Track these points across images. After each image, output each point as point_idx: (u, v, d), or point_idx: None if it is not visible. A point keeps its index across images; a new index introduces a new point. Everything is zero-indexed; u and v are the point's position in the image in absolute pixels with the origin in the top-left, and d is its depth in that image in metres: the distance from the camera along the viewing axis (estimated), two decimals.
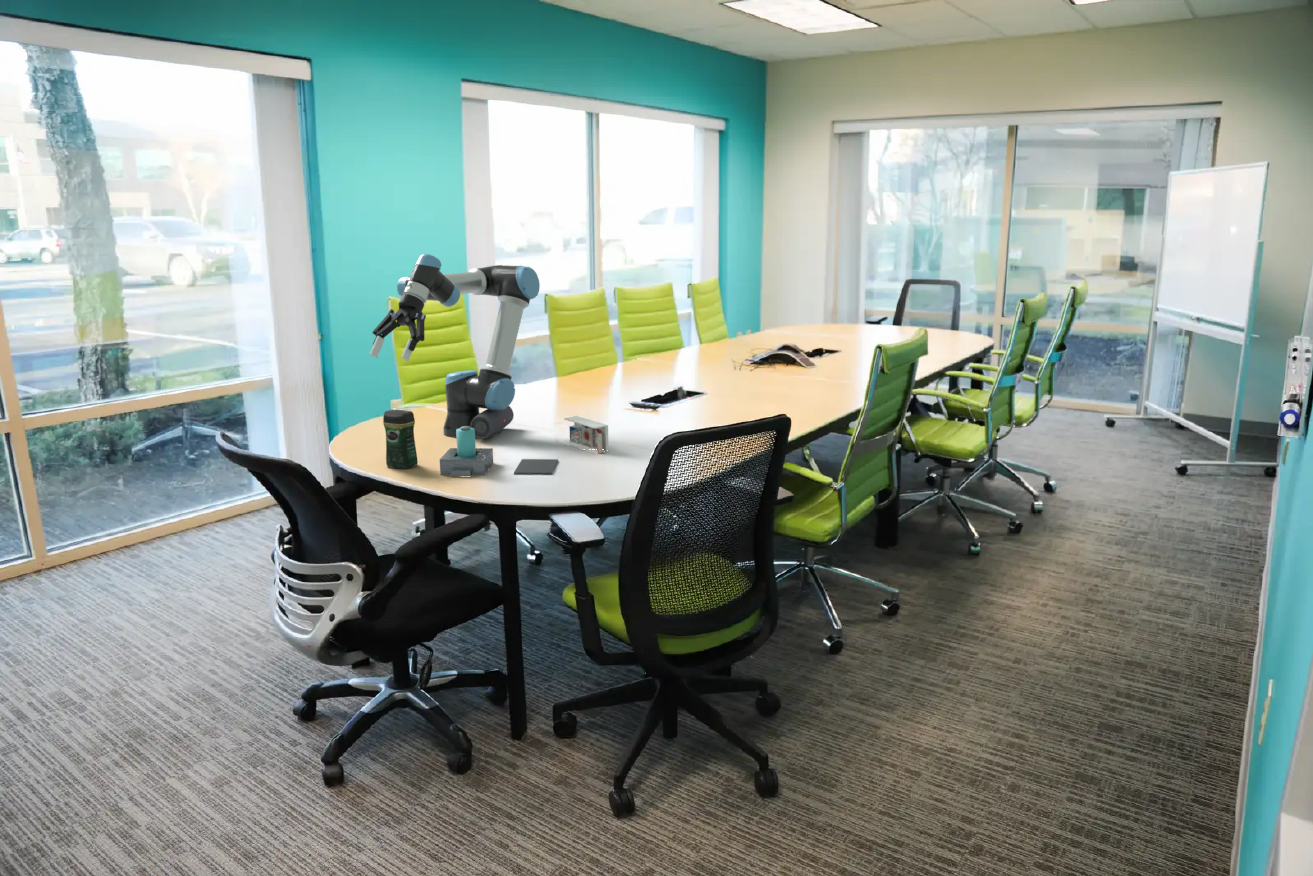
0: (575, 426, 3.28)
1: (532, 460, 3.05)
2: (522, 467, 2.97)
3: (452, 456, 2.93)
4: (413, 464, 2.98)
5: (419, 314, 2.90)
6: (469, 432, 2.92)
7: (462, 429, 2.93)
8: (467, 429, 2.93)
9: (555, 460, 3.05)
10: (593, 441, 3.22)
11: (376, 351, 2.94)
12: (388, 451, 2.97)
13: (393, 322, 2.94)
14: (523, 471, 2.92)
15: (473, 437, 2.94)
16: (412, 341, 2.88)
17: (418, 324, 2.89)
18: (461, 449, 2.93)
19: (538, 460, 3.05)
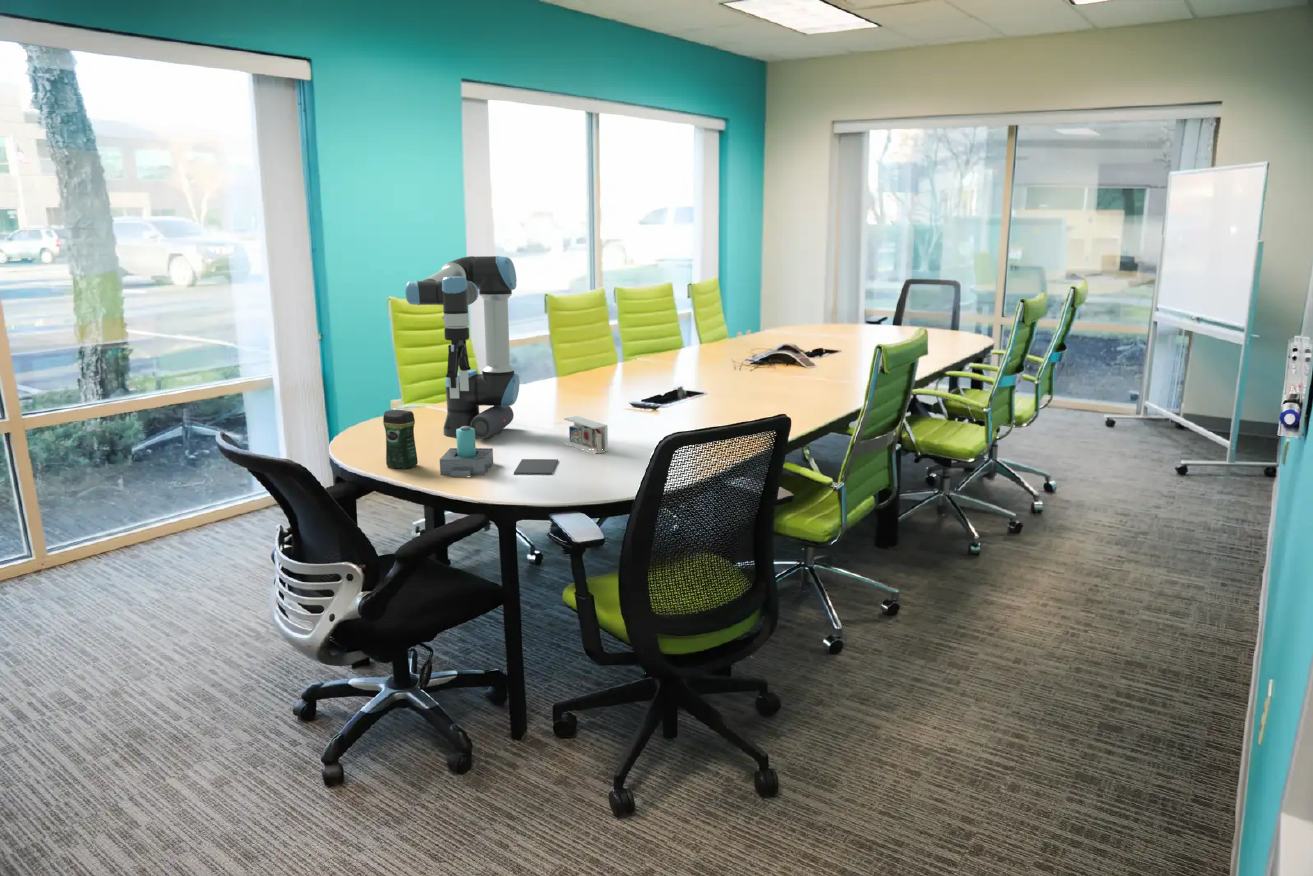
0: (575, 426, 3.28)
1: (532, 460, 3.05)
2: (522, 467, 2.97)
3: (452, 456, 2.93)
4: (413, 464, 2.98)
5: None
6: (469, 432, 2.92)
7: (462, 429, 2.93)
8: (467, 429, 2.93)
9: (555, 460, 3.05)
10: (593, 441, 3.22)
11: (464, 385, 2.97)
12: (388, 451, 2.97)
13: None
14: (523, 471, 2.92)
15: (473, 437, 2.94)
16: None
17: None
18: (461, 449, 2.93)
19: (538, 460, 3.05)
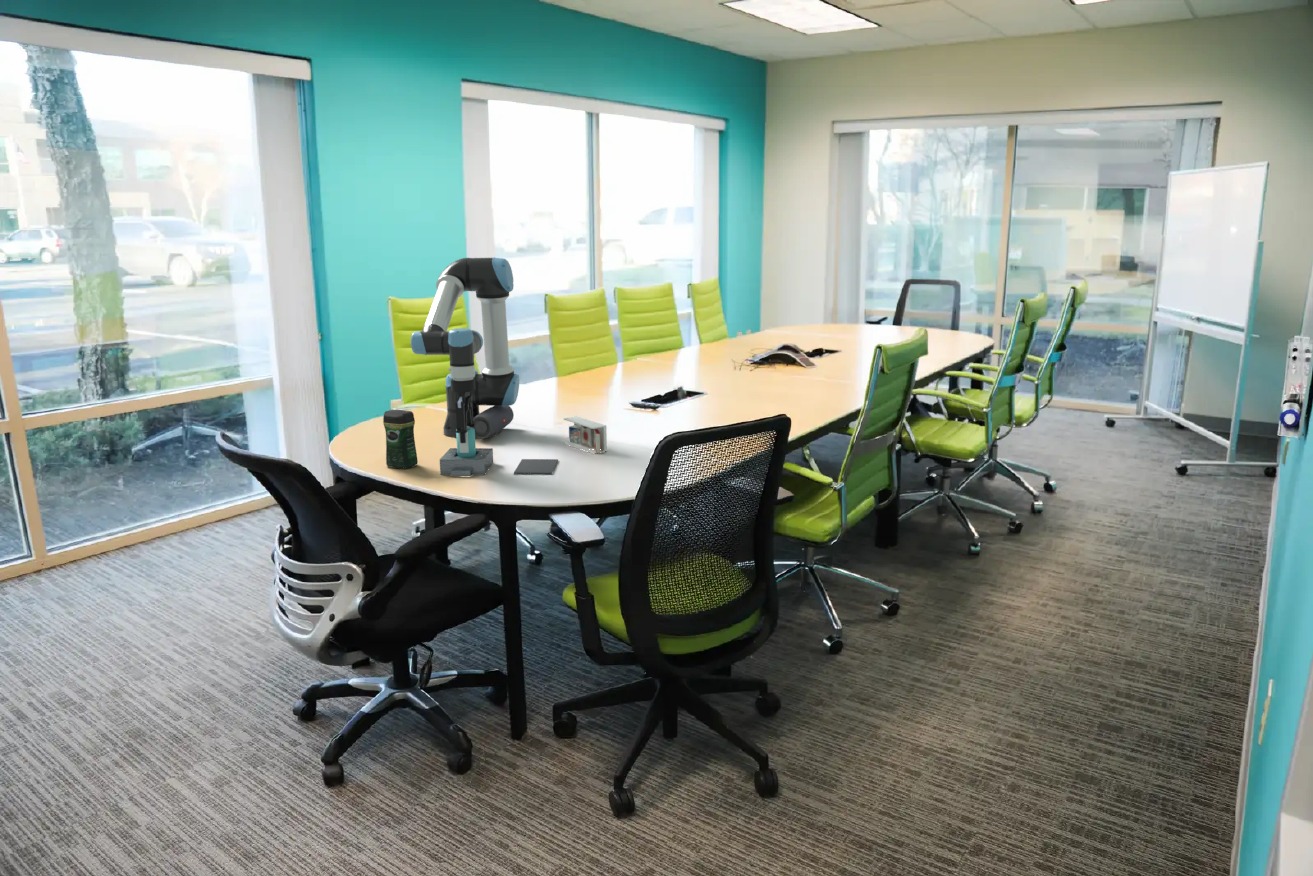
0: (574, 426, 3.28)
1: (532, 460, 3.05)
2: (522, 467, 2.97)
3: (452, 456, 2.93)
4: (413, 464, 2.98)
5: None
6: (469, 432, 2.92)
7: None
8: (467, 429, 2.93)
9: (555, 460, 3.05)
10: (592, 441, 3.22)
11: None
12: (388, 451, 2.97)
13: None
14: (523, 471, 2.92)
15: (473, 437, 2.94)
16: None
17: None
18: None
19: (538, 460, 3.05)
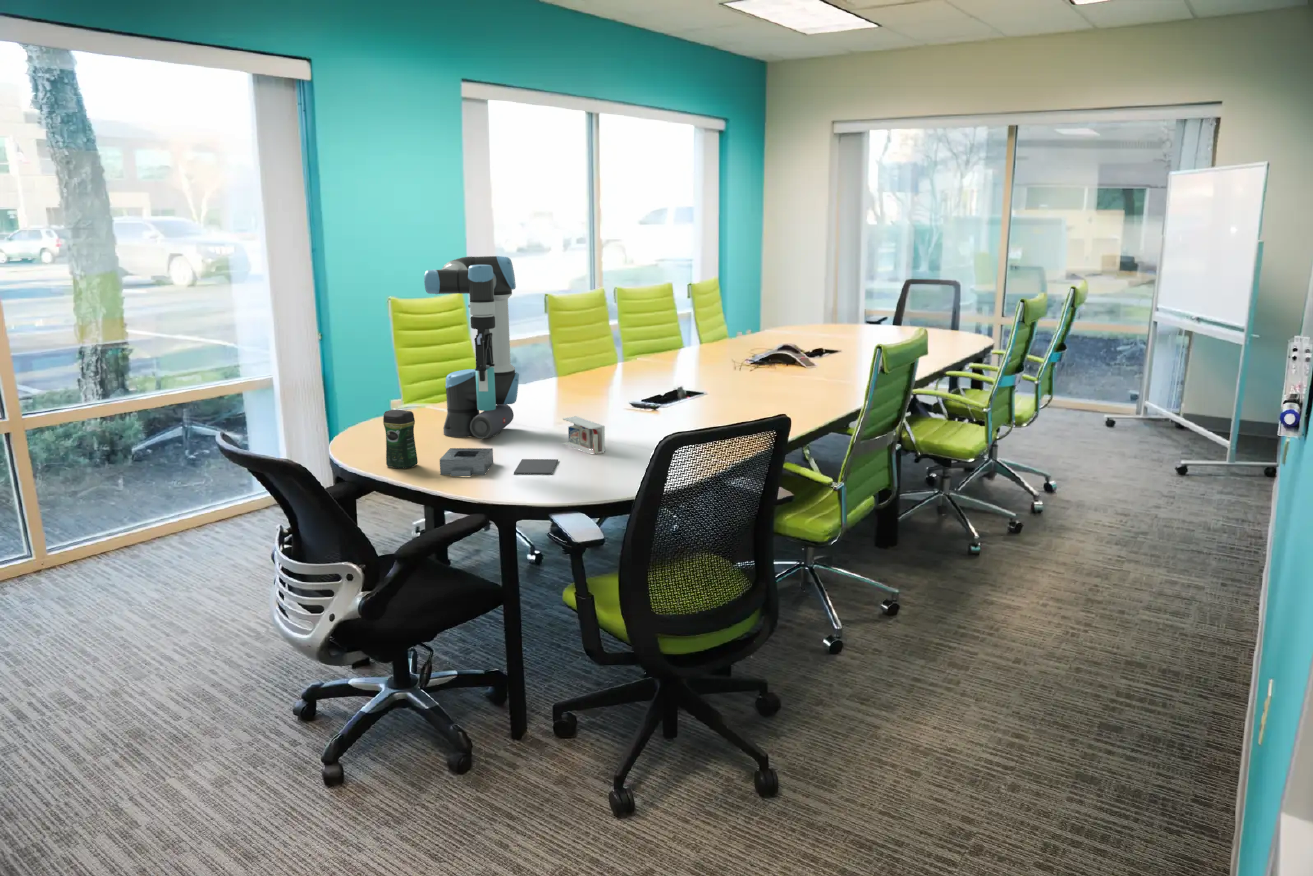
0: (574, 426, 3.28)
1: (532, 460, 3.05)
2: (522, 467, 2.97)
3: (452, 456, 2.93)
4: (413, 464, 2.98)
5: None
6: (488, 370, 2.88)
7: None
8: (486, 367, 2.89)
9: (555, 460, 3.05)
10: (590, 442, 3.21)
11: None
12: (388, 451, 2.97)
13: None
14: (523, 471, 2.92)
15: (492, 376, 2.89)
16: None
17: None
18: None
19: (538, 460, 3.05)
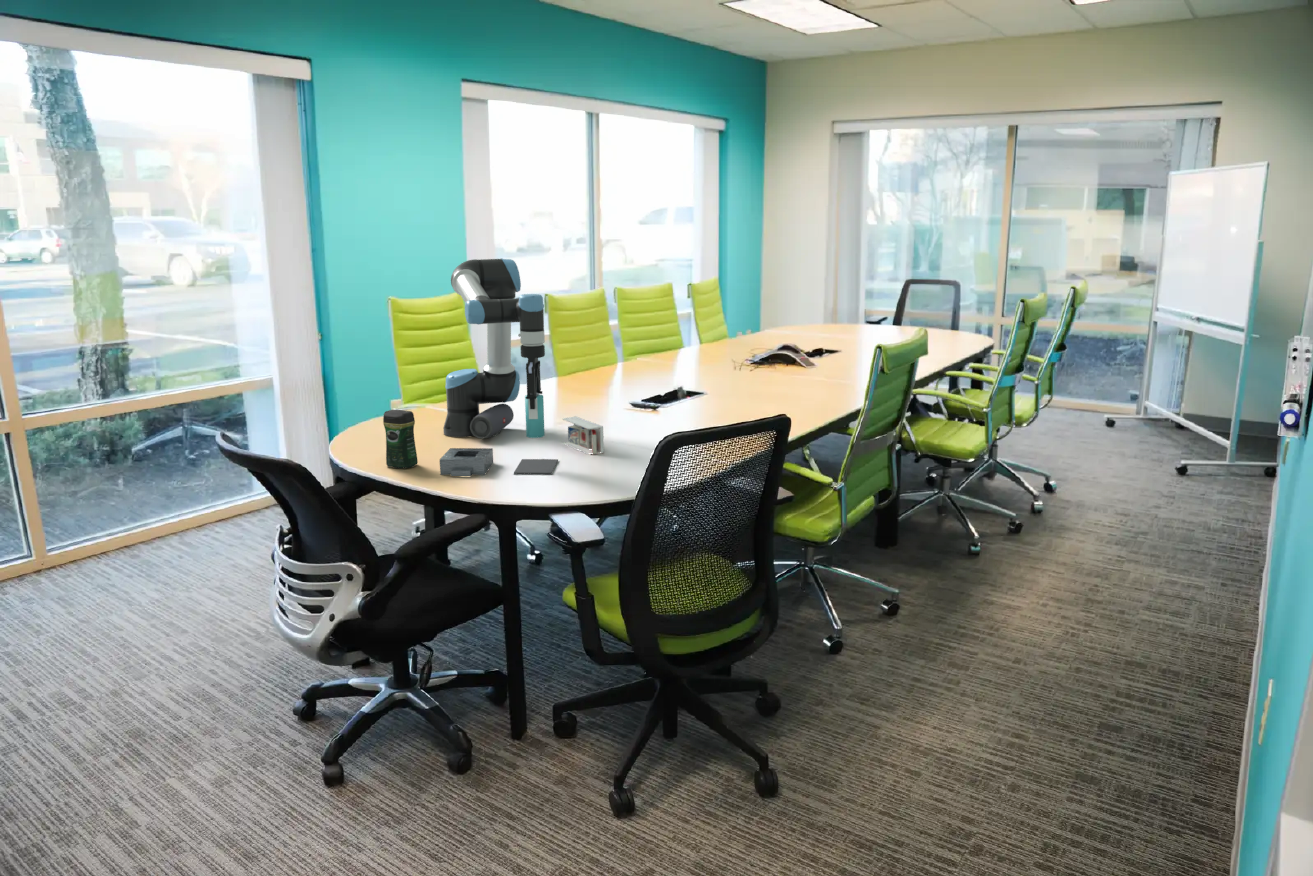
0: (573, 426, 3.28)
1: (532, 460, 3.05)
2: (522, 467, 2.97)
3: (452, 456, 2.93)
4: (413, 464, 2.98)
5: (526, 370, 2.85)
6: (538, 398, 2.91)
7: None
8: (536, 395, 2.92)
9: (555, 460, 3.05)
10: (589, 442, 3.21)
11: None
12: (388, 451, 2.97)
13: None
14: (523, 471, 2.92)
15: (542, 403, 2.93)
16: (530, 400, 2.90)
17: (527, 382, 2.86)
18: None
19: (538, 460, 3.05)
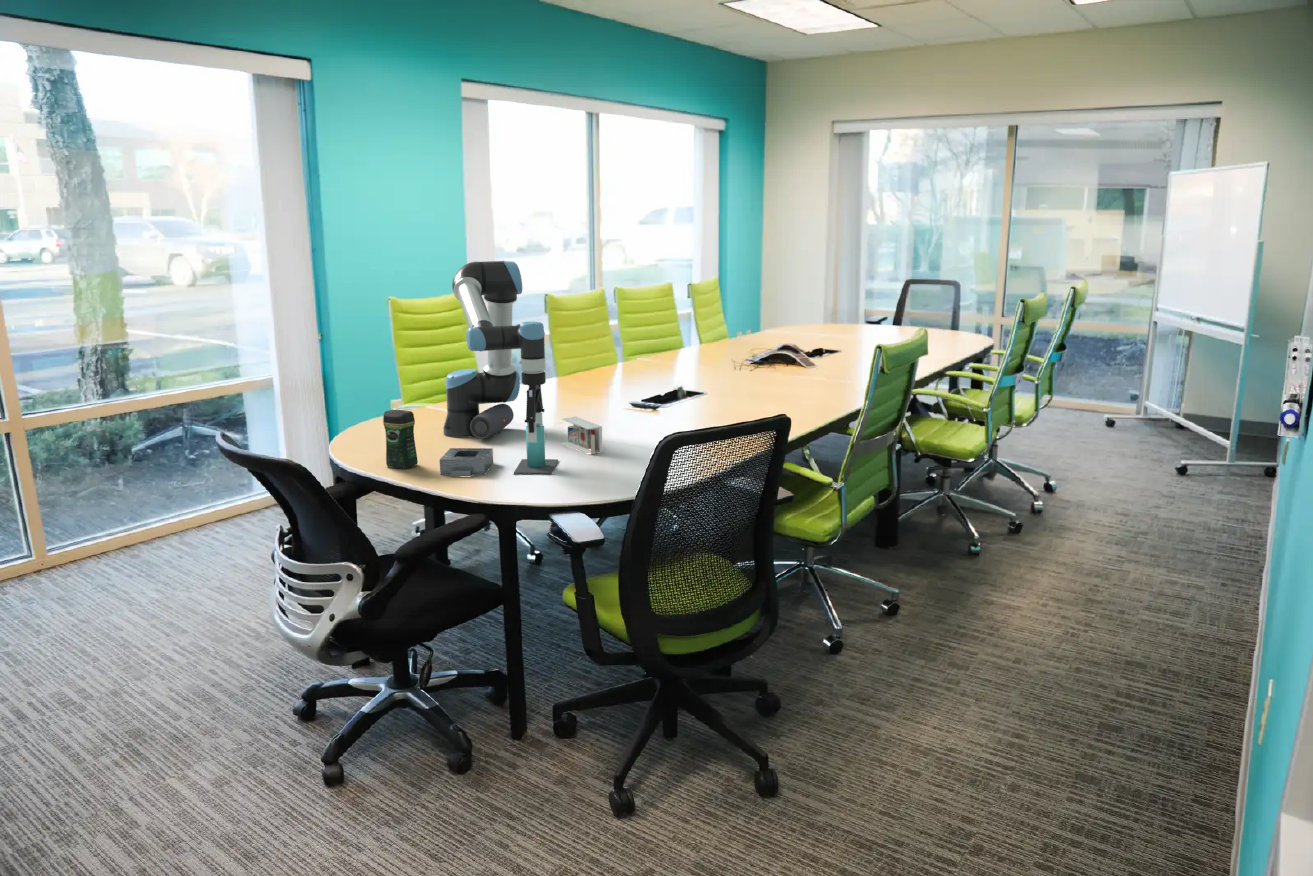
0: (573, 426, 3.28)
1: None
2: (522, 467, 2.97)
3: (452, 456, 2.93)
4: (413, 464, 2.98)
5: (527, 394, 2.87)
6: (539, 429, 2.94)
7: None
8: (537, 426, 2.94)
9: (555, 460, 3.05)
10: (588, 442, 3.21)
11: None
12: (388, 451, 2.97)
13: None
14: (523, 471, 2.92)
15: (543, 434, 2.95)
16: (529, 424, 2.88)
17: None
18: (531, 446, 2.94)
19: None
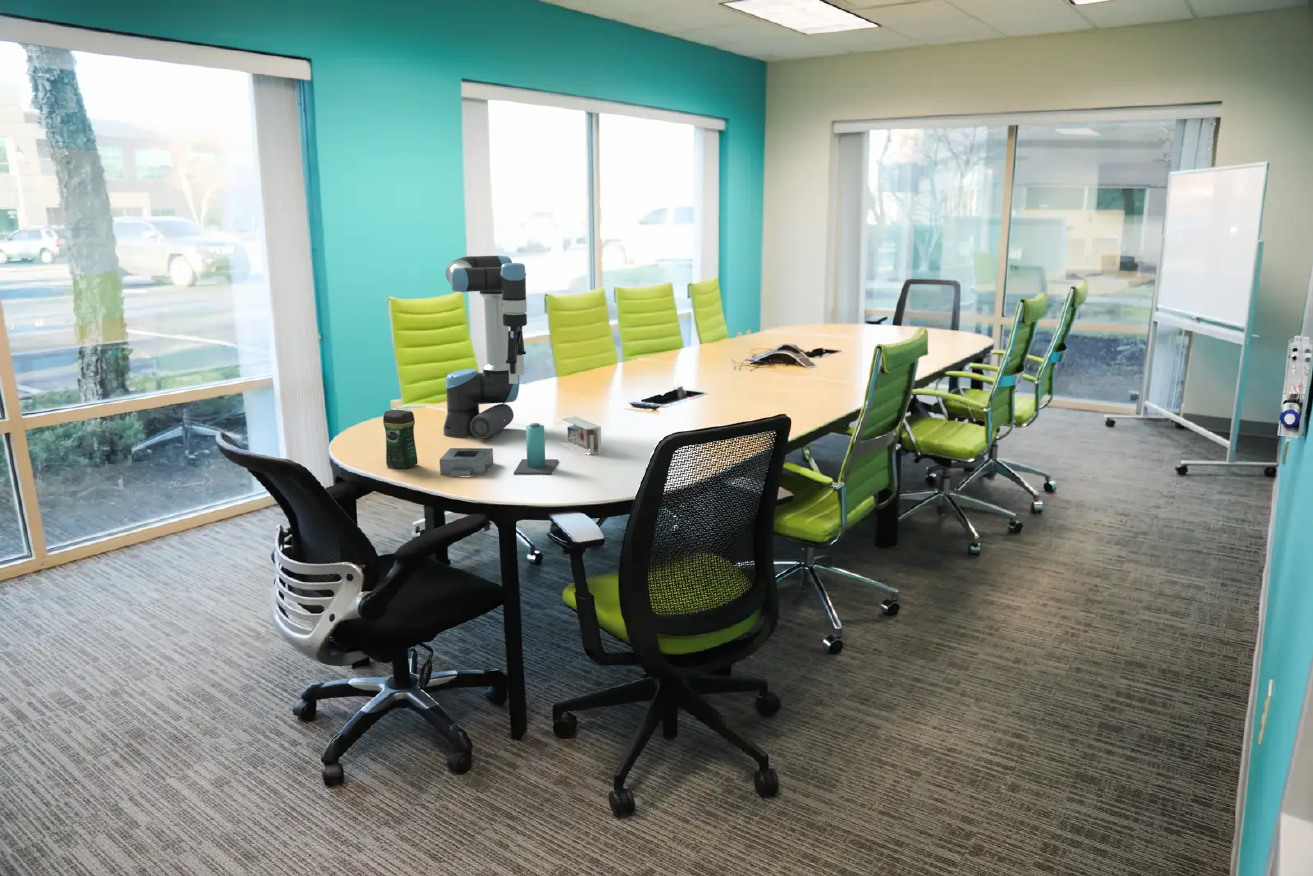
0: (573, 426, 3.27)
1: None
2: (522, 467, 2.97)
3: (452, 456, 2.93)
4: (413, 464, 2.98)
5: (508, 335, 2.87)
6: (539, 429, 2.94)
7: (532, 426, 2.94)
8: (537, 426, 2.94)
9: (555, 460, 3.05)
10: (588, 442, 3.21)
11: (520, 369, 3.03)
12: (388, 451, 2.97)
13: None
14: (523, 471, 2.92)
15: (543, 434, 2.95)
16: (510, 365, 2.88)
17: None
18: (531, 446, 2.94)
19: None
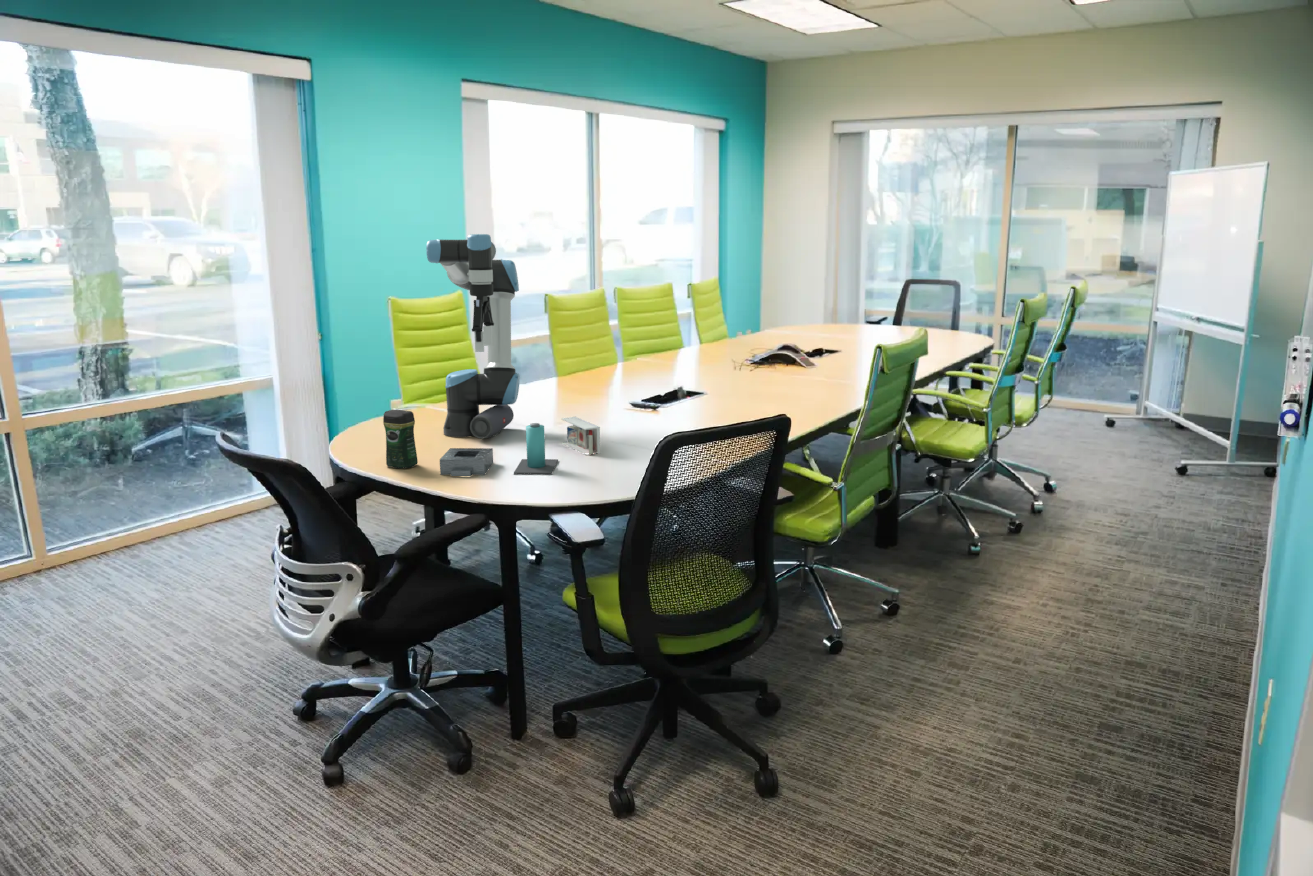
0: (572, 427, 3.27)
1: None
2: (522, 467, 2.97)
3: (452, 456, 2.93)
4: (413, 464, 2.98)
5: None
6: (539, 429, 2.94)
7: (532, 426, 2.94)
8: (537, 426, 2.94)
9: (555, 460, 3.05)
10: (587, 442, 3.20)
11: (488, 340, 3.09)
12: (388, 451, 2.97)
13: None
14: (523, 471, 2.92)
15: (543, 434, 2.95)
16: None
17: None
18: (531, 446, 2.94)
19: None
